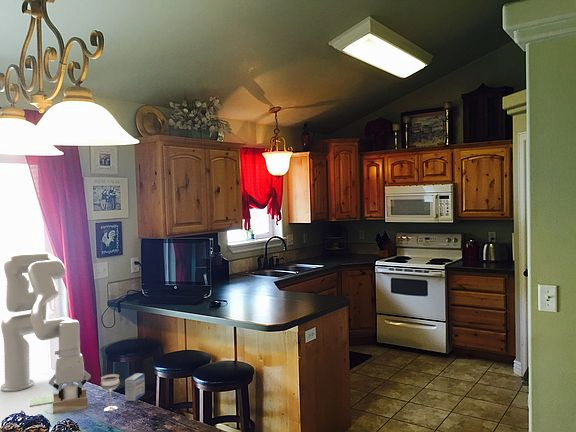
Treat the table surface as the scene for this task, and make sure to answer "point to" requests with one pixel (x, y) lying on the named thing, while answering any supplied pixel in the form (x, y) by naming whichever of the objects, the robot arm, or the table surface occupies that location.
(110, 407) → the wineglass
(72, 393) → the eye dropper bottle
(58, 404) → the maple channel
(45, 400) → the sage mat
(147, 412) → the table surface
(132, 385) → the medicine box
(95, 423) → the table surface
